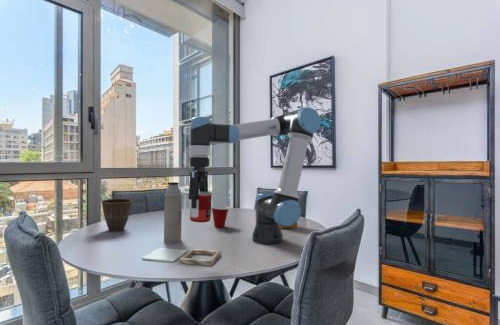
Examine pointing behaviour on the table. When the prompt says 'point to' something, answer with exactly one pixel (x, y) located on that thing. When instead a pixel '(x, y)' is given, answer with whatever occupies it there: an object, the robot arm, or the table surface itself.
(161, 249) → the sage pad
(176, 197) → the thermos bottle
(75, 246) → the table surface
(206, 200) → the canned food
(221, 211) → the plastic cup
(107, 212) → the plant pot
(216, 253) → the square wooden frame
